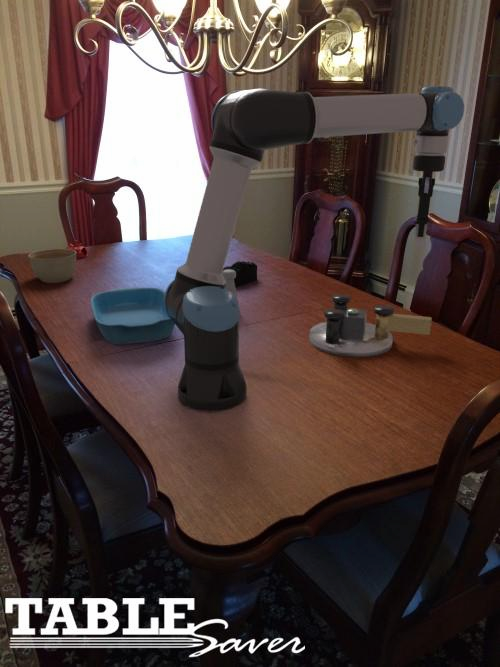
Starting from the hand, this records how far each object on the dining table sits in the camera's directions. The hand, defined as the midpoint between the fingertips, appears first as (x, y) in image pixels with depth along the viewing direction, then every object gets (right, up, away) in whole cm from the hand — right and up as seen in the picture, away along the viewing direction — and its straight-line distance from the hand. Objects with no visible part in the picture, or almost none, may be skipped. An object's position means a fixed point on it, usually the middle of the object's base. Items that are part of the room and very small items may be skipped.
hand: (418, 247), depth 146 cm
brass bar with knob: (-5, -24, 0) cm, 24 cm away
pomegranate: (-116, +6, +82) cm, 142 cm away
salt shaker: (-51, -16, +26) cm, 59 cm away
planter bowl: (-114, -5, +53) cm, 126 cm away
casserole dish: (-78, -21, +13) cm, 82 cm away
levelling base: (-17, -25, +4) cm, 30 cm away
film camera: (-49, -5, +54) cm, 73 cm away
